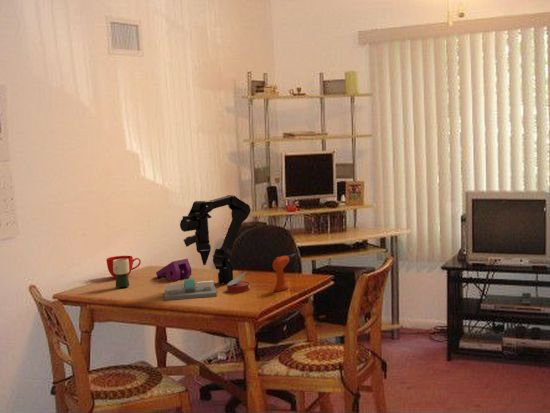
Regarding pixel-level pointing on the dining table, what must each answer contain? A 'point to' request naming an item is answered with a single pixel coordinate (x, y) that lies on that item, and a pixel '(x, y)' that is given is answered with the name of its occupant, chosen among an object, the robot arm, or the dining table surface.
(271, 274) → the dining table surface
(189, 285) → the block
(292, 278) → the dining table surface
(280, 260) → the toy drill
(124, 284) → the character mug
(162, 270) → the mounting bracket
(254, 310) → the dining table surface
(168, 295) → the plate
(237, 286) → the canned food
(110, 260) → the ceramic cup
